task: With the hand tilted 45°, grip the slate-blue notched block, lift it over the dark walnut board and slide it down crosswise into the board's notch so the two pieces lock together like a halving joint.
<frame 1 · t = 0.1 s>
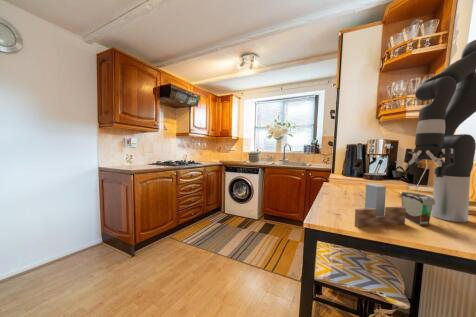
hand: (425, 175, 69), 17 cm above the table, tool pointing down, fingers open, 8 cm apart
walnut board: (380, 224, 65), on the table
slate block: (374, 218, 72), on the table
food container: (419, 222, 69), on the table
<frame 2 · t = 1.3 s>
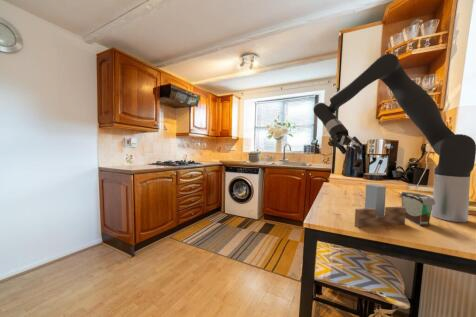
hand: (353, 153, 82), 25 cm above the table, tool tilted 45°, fingers open, 8 cm apart
nothing on the table moved.
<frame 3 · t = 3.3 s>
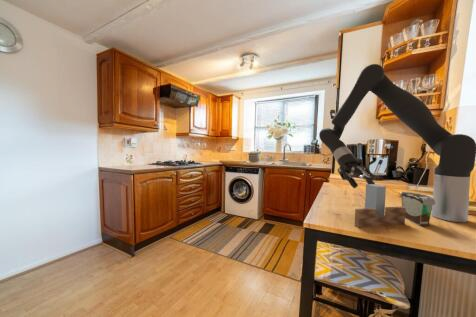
hand: (364, 186, 76), 11 cm above the table, tool tilted 45°, fingers open, 8 cm apart
nothing on the table moved.
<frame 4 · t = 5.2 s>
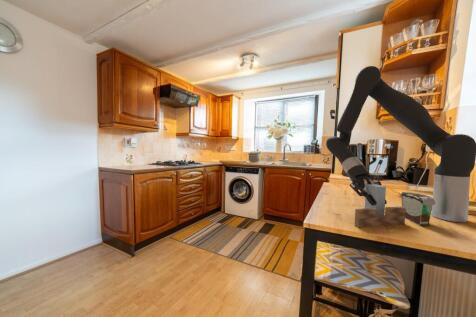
hand: (379, 204, 70), 6 cm above the table, tool tilted 45°, fingers closed on slate block, 4 cm apart
slate block: (374, 217, 72), on the table, touching gripper
everything else where it was.
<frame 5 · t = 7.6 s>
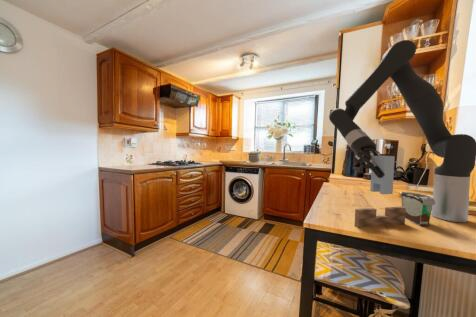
hand: (387, 176, 63), 18 cm above the table, tool tilted 45°, fingers closed on slate block, 4 cm apart
slate block: (381, 192, 65), point 12 cm above the table, touching gripper
everything else where it was.
when the fingers open (7 cm above the table, at t = 9.9 s): slate block drops 1 cm, resting in walnut board.
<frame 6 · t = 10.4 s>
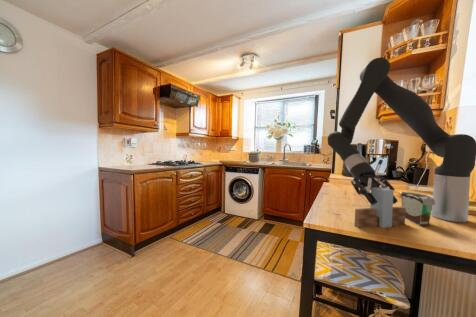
hand: (385, 203, 64), 8 cm above the table, tool tilted 45°, fingers open, 8 cm apart
slate block: (380, 224, 65), resting in walnut board
everything else where it was.
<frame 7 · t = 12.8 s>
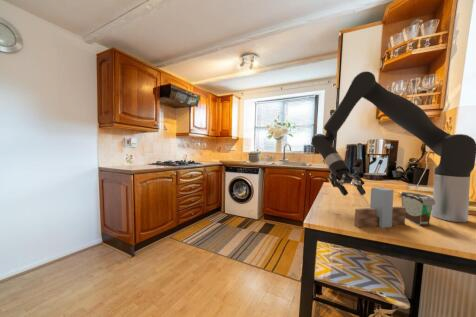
hand: (355, 194, 76), 8 cm above the table, tool tilted 45°, fingers open, 8 cm apart
nothing on the table moved.
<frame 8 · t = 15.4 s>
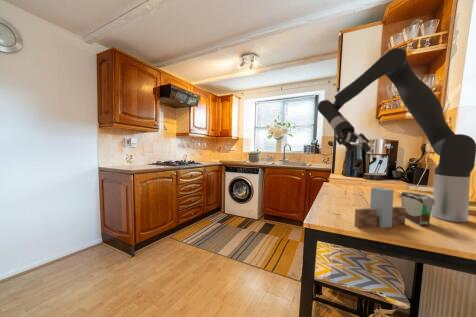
hand: (360, 150, 78), 27 cm above the table, tool tilted 45°, fingers open, 8 cm apart
nothing on the table moved.
at the end: slate block 0.1 cm off-centre on the walnut board, point 0.0 cm above the walnut board's base; slate block tilted 0°; the gripper is holding nothing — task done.
